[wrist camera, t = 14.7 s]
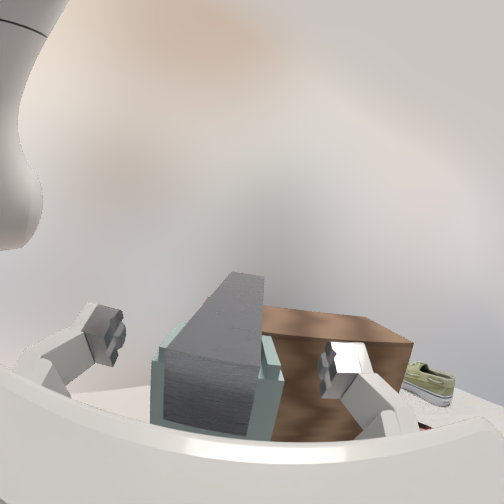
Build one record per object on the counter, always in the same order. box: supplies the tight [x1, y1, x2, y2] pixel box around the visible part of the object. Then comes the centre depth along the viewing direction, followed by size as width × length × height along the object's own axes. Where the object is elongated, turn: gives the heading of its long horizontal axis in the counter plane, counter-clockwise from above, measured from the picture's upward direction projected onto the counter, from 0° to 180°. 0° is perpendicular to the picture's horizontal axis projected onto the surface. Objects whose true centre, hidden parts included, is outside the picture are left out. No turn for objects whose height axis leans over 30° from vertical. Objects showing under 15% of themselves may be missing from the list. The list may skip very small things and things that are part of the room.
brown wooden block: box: [202, 297, 414, 442], centre depth 31 cm, size 22×13×26 cm, turn 92°
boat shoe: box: [401, 361, 455, 407], centre depth 68 cm, size 10×29×9 cm, turn 20°
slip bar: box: [163, 272, 264, 437], centre depth 21 cm, size 4×22×4 cm, turn 178°
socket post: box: [150, 322, 285, 441], centre depth 19 cm, size 8×6×26 cm
